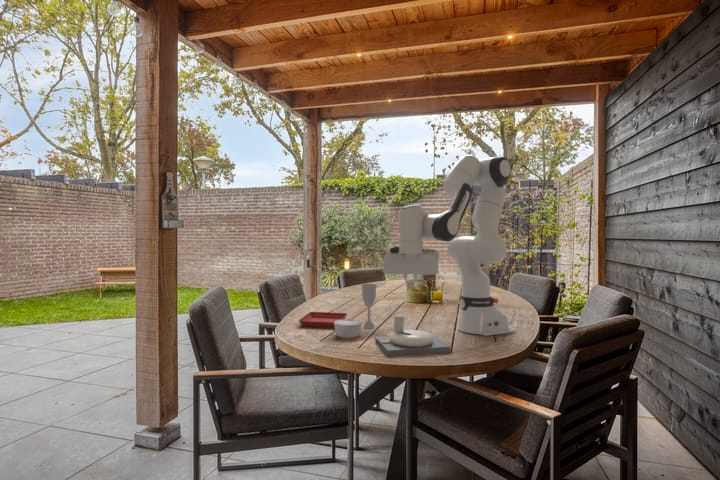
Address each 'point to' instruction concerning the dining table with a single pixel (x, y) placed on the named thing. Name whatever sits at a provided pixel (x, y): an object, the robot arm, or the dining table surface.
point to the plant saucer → (321, 319)
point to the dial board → (399, 350)
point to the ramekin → (348, 328)
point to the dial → (409, 335)
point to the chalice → (369, 301)
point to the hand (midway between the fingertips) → (410, 286)
